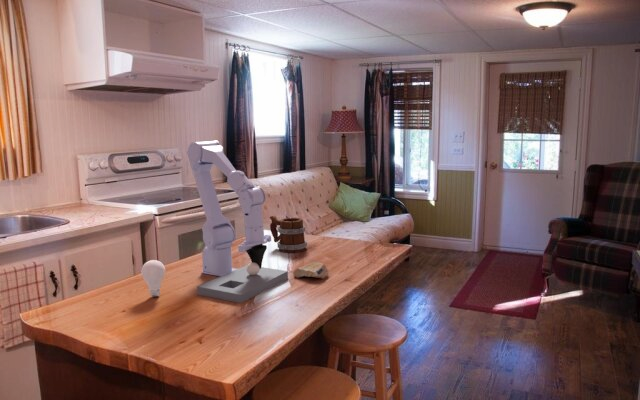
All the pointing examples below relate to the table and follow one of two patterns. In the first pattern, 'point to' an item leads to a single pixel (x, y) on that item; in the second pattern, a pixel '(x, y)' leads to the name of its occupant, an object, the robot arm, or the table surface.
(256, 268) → the ball
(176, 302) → the table surface
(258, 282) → the plate
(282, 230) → the mug
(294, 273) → the stone
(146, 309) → the table surface
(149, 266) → the light bulb
